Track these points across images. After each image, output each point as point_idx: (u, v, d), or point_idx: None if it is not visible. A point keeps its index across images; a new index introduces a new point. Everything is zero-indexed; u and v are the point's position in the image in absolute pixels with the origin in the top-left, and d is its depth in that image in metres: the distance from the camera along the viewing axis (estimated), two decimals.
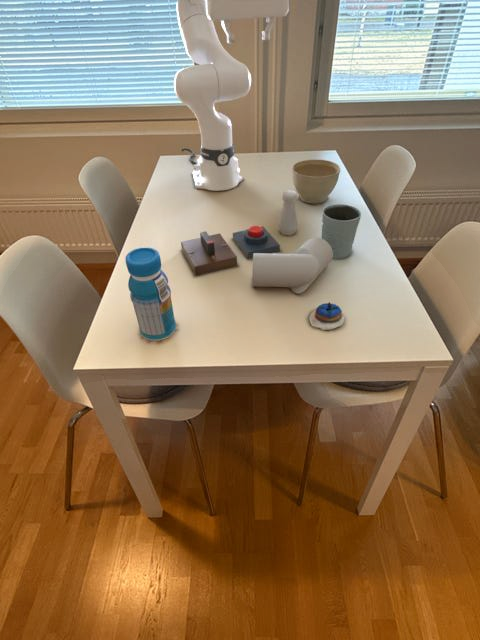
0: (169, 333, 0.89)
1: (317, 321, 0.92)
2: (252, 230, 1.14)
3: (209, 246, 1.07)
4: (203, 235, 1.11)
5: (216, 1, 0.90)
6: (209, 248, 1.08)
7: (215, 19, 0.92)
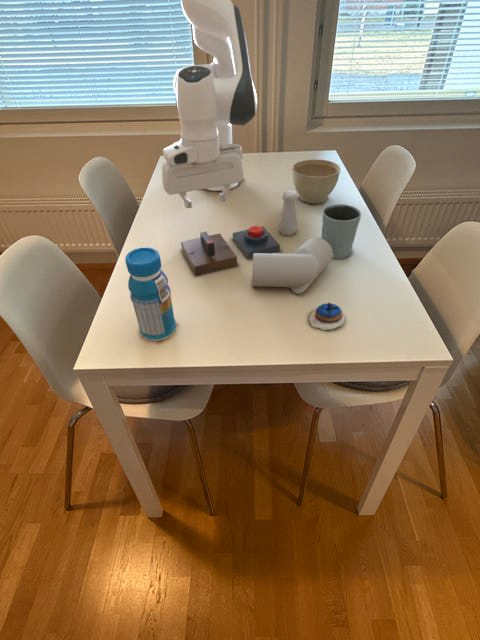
0: (169, 333, 0.89)
1: (317, 321, 0.92)
2: (252, 230, 1.14)
3: (209, 246, 1.07)
4: (203, 235, 1.11)
5: (171, 180, 0.94)
6: (209, 248, 1.08)
7: (171, 193, 0.97)
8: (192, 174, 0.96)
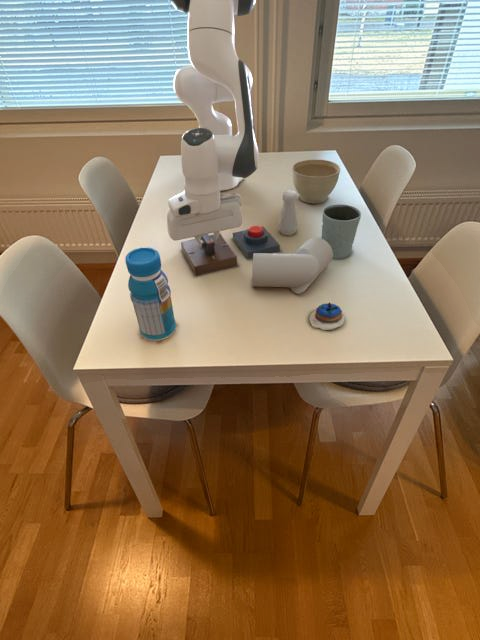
0: (169, 333, 0.89)
1: (317, 321, 0.92)
2: (252, 230, 1.14)
3: (209, 246, 1.07)
4: (203, 235, 1.11)
5: (175, 228, 1.02)
6: (209, 248, 1.08)
7: (175, 239, 1.04)
8: (194, 222, 1.04)
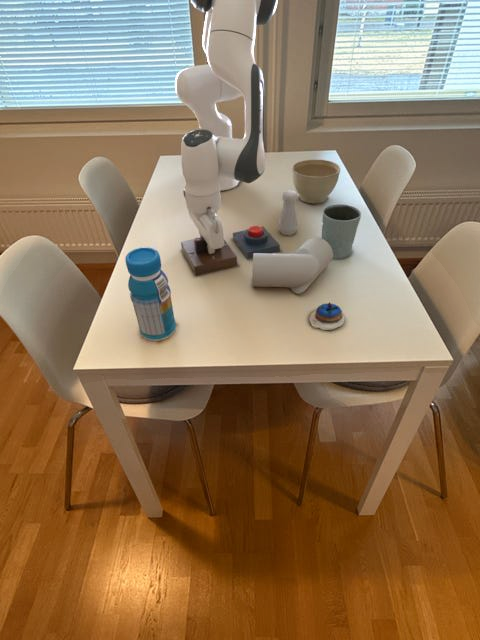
0: (169, 333, 0.89)
1: (317, 321, 0.92)
2: (252, 230, 1.14)
3: (194, 241, 1.09)
4: None
5: None
6: (194, 243, 1.10)
7: None
8: None
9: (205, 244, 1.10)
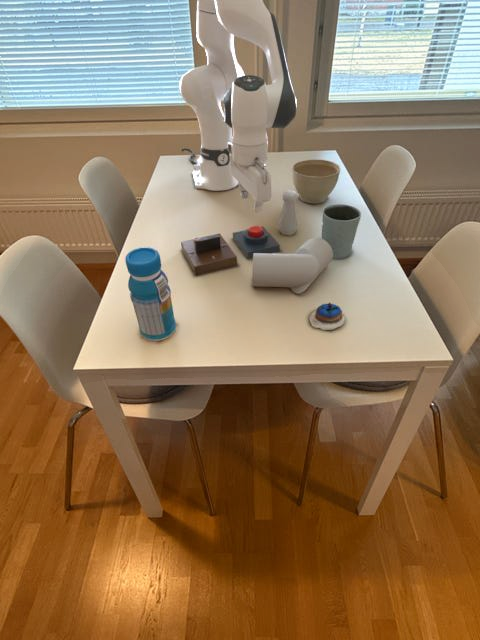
0: (169, 333, 0.89)
1: (317, 321, 0.92)
2: (252, 230, 1.14)
3: (194, 241, 1.09)
4: (211, 235, 1.10)
5: (231, 164, 1.09)
6: (194, 243, 1.10)
7: (232, 175, 1.12)
8: (240, 168, 1.05)
9: (205, 244, 1.10)
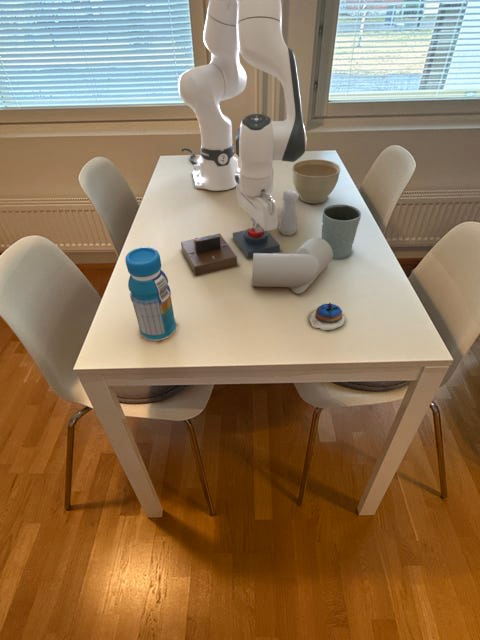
0: (169, 333, 0.89)
1: (317, 321, 0.92)
2: (252, 231, 1.15)
3: (194, 241, 1.09)
4: (211, 235, 1.10)
5: (238, 192, 1.15)
6: (194, 243, 1.10)
7: (239, 202, 1.18)
8: (246, 197, 1.11)
9: (205, 244, 1.10)
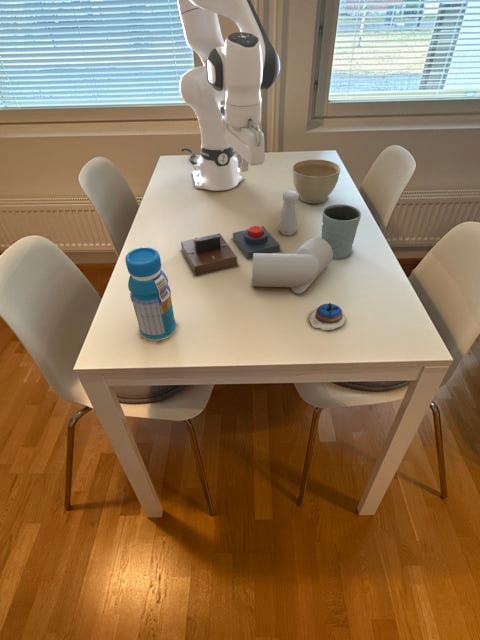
0: (169, 333, 0.89)
1: (317, 321, 0.92)
2: (252, 230, 1.14)
3: (194, 241, 1.09)
4: (211, 235, 1.10)
5: (224, 128, 1.08)
6: (194, 243, 1.10)
7: (224, 140, 1.10)
8: (232, 132, 1.04)
9: (205, 244, 1.10)
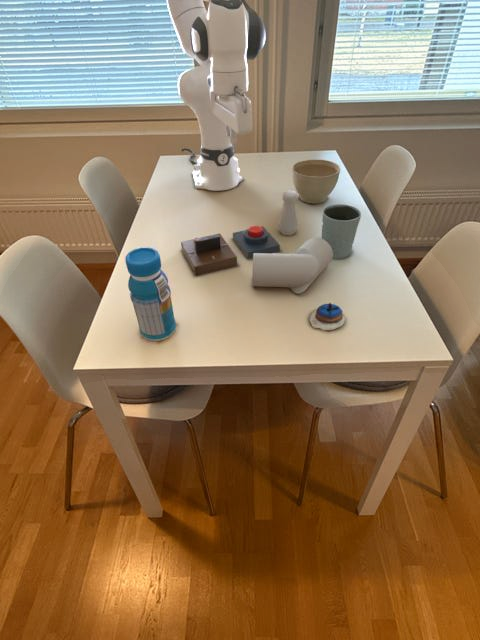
0: (169, 333, 0.89)
1: (318, 322, 0.92)
2: (252, 230, 1.14)
3: (194, 241, 1.09)
4: (211, 235, 1.10)
5: (212, 101, 1.06)
6: (194, 243, 1.10)
7: (213, 114, 1.08)
8: (220, 103, 1.02)
9: (205, 244, 1.10)
